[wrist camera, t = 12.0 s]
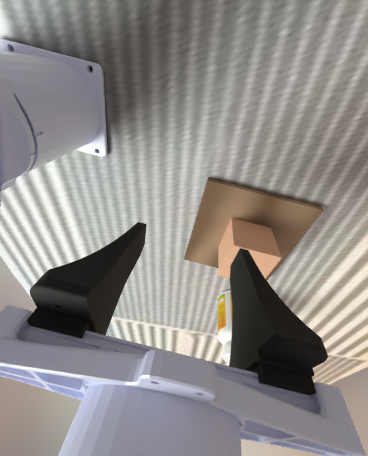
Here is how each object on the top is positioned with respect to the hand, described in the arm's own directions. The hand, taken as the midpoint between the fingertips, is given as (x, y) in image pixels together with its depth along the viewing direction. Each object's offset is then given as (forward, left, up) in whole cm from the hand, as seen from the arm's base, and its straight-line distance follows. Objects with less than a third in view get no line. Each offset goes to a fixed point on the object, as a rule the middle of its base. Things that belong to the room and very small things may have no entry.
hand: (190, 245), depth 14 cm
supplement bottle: (+11, -19, -10) cm, 24 cm away
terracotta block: (+7, -5, -9) cm, 12 cm away
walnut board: (+7, -5, -10) cm, 13 cm away
